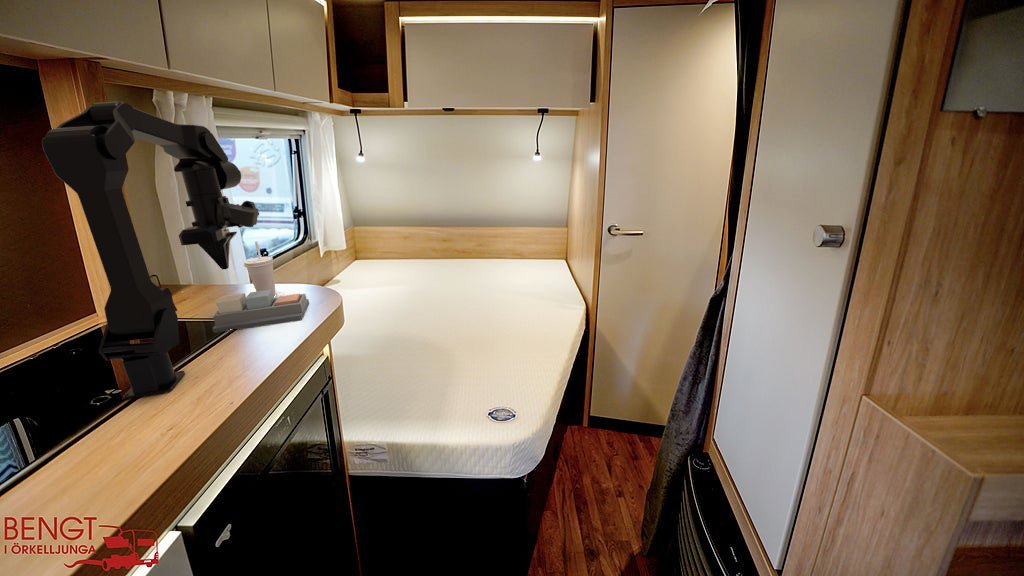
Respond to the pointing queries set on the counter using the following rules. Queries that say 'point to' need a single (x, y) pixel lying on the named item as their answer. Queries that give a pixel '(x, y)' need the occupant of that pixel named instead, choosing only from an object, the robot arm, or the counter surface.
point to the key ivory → (231, 303)
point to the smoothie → (261, 272)
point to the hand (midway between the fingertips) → (225, 268)
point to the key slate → (259, 299)
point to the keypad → (260, 316)
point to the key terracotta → (288, 299)
